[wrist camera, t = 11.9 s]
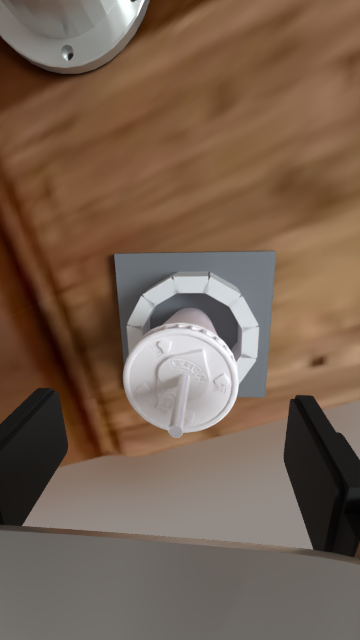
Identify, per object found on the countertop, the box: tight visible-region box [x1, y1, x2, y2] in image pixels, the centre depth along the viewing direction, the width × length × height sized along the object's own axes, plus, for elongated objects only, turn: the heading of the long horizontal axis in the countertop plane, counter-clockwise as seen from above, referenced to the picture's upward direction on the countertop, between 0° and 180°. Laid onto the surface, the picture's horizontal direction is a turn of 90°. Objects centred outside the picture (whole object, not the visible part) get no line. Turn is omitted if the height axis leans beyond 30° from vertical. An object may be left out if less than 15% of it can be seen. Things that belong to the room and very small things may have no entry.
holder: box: [114, 251, 276, 398], centre depth 23 cm, size 13×13×4 cm
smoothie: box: [123, 307, 239, 438], centre depth 17 cm, size 6×6×14 cm
